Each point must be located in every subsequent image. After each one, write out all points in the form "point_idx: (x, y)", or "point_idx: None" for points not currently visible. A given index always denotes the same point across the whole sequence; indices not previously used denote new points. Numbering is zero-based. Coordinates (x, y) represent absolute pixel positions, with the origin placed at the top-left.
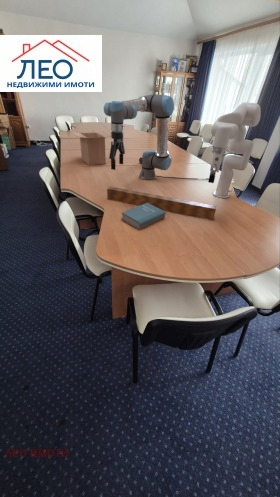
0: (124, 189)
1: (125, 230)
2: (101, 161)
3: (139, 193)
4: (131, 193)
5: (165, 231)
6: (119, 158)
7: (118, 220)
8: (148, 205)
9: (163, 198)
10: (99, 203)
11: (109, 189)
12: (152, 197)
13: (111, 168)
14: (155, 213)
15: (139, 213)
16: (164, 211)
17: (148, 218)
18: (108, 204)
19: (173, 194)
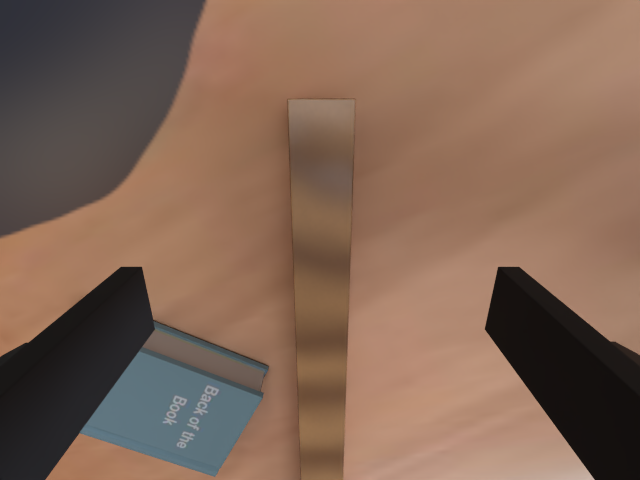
0: (341, 247)
1: (18, 342)
2: None
3: (317, 359)
4: (295, 314)
5: (125, 464)
6: (564, 332)
7: (75, 284)
8: (232, 410)
9: (311, 478)
10: (196, 78)
11: (288, 126)
12: (299, 431)
13: (113, 279)
14: (169, 451)
15: (115, 398)
16: (214, 476)
17: (100, 439)
18: (217, 149)
19: (522, 430)
